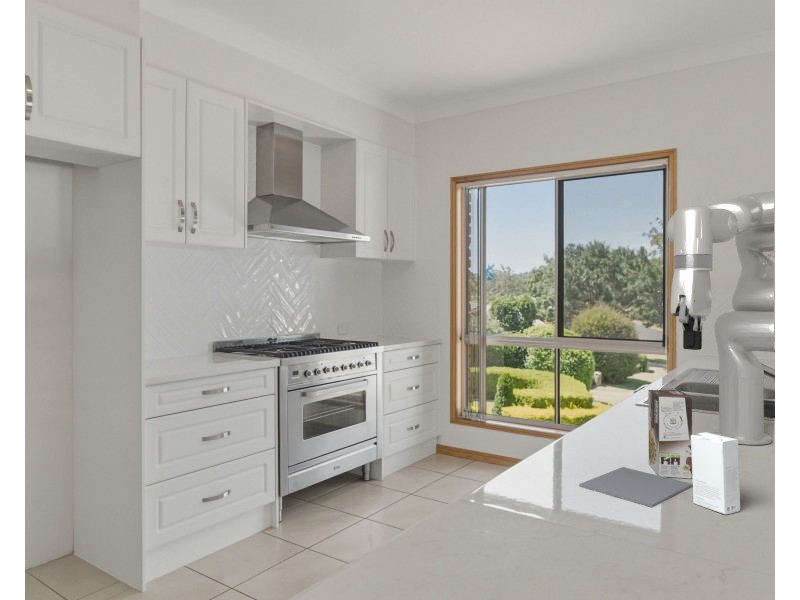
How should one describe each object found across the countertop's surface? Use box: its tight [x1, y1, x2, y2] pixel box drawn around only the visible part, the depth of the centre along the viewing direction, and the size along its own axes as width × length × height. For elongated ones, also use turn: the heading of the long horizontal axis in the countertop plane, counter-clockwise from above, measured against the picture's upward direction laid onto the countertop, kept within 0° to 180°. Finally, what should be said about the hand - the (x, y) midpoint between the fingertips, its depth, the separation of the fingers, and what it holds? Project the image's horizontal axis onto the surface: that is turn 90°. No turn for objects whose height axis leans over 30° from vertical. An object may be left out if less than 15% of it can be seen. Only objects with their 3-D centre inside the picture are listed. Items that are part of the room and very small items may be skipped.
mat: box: [578, 466, 693, 508], centre depth 106 cm, size 16×14×1 cm
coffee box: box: [647, 389, 693, 480], centre depth 115 cm, size 9×6×16 cm
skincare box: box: [691, 431, 741, 515], centre depth 96 cm, size 6×4×12 cm
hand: (692, 349), depth 122 cm, fingers closed
